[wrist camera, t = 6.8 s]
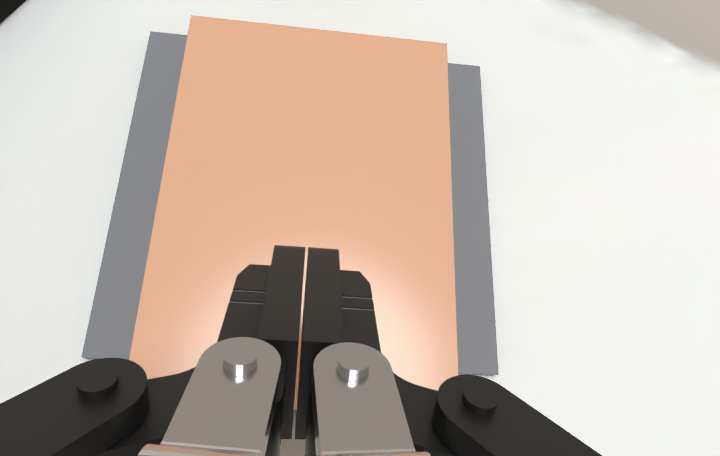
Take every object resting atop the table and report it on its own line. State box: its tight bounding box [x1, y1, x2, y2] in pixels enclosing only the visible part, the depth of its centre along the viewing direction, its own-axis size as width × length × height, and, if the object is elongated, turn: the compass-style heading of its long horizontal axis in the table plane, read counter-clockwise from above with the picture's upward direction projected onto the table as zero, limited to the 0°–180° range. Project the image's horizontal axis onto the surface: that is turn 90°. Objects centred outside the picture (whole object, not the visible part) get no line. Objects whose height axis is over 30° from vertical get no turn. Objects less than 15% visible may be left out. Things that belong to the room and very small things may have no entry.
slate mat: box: [82, 32, 498, 375], centre depth 21 cm, size 15×14×1 cm
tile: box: [129, 15, 458, 410], centre depth 19 cm, size 10×3×14 cm
